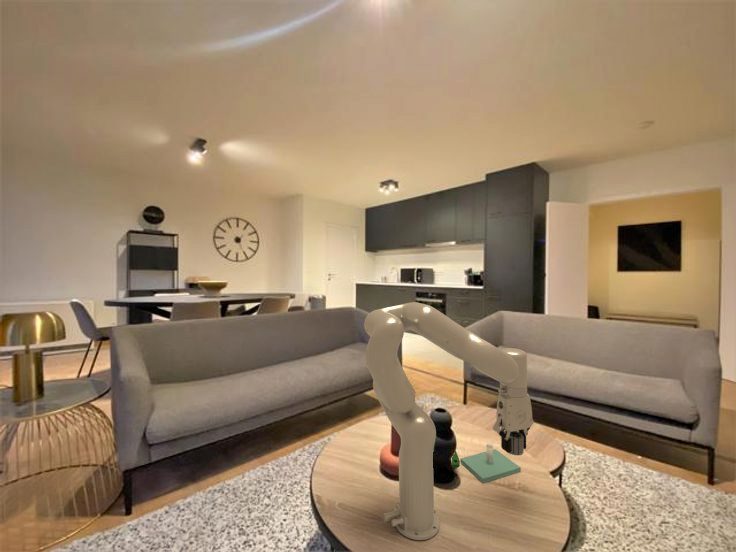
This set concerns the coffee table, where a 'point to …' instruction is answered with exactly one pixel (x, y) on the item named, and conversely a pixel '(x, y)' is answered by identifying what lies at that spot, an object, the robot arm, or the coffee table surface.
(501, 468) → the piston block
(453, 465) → the clamp
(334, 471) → the coffee table surface
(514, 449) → the grey ribbed cylinder
